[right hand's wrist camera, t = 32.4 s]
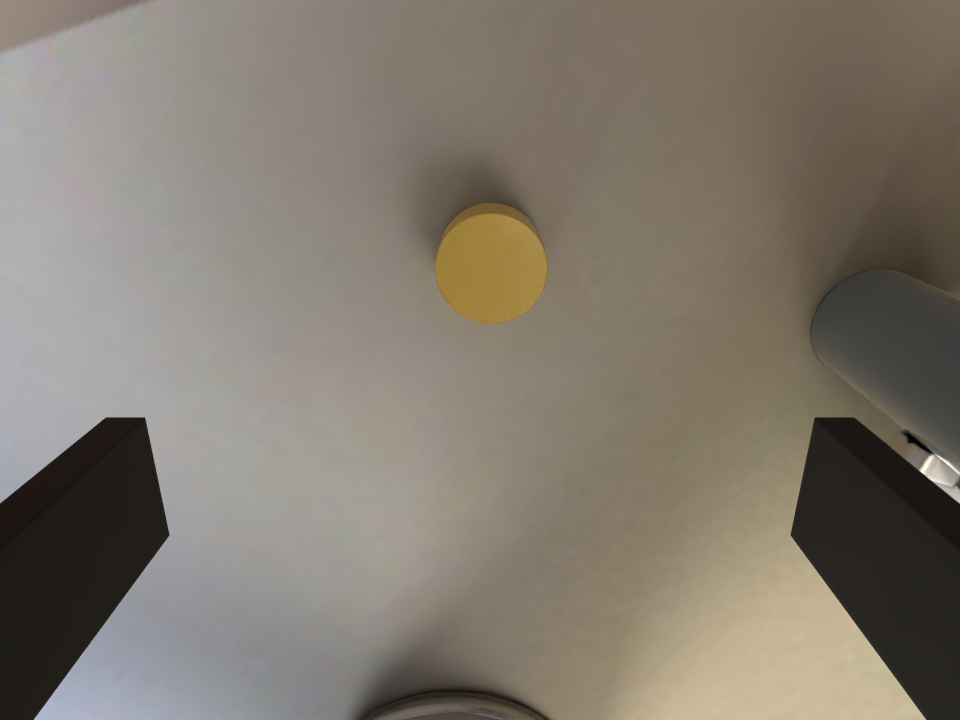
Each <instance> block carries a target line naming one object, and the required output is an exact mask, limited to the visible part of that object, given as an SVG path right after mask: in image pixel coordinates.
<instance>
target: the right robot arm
mask: <svg viewBox="0 0 960 720" xmlns="http://www.w3.org/2000/svg"><path fill="white" fill-rule="evenodd" d="M168 536H169V531H168V526H167V521H166V516H165V512H164V507H163V502H162V497H161V492H160V487H159V482H158V478H157V473H156V468H155V463H154V458H153V453H152V449H151V444H150V439H149V434H148V429H147V424H146V420H145V418H105V419H104V420H102V421H101V422H100V423H99V424H97V425H96V426H95V427H94V428H93V429H91V430H90V431H89V432H88V433H86V434H85V435H84V436H83V437H81V438H80V439H79V440H78V441H77V442H75V443H74V444H73V445H72V446H70V447H69V448H68V449H67V450H65V451H64V452H63V453H62V454H61V455H59V456H58V457H57V458H56V459H54V460H53V461H52V462H51V463H49V464H48V465H47V466H46V467H45V468H43V469H42V470H41V471H40V472H38V473H37V474H36V475H35V476H34V477H32V478H31V479H30V480H29V481H27V482H26V483H25V484H24V485H22V486H21V487H20V488H19V489H18V490H16V491H15V492H14V493H13V494H11V495H10V496H9V497H8V498H6V499H5V500H4V501H3V502H2V503H0V720H34V718H35V717H36V716H37V714H38V713H39V712H40V710H41V709H42V708H43V706H44V705H45V704H46V702H47V701H48V699H49V698H50V697H51V695H52V694H53V693H54V691H55V690H56V689H57V687H58V686H59V684H60V683H61V682H62V680H63V679H64V678H65V676H66V675H67V674H68V672H69V671H70V670H71V668H72V667H73V665H74V664H75V663H76V661H77V660H78V659H79V657H80V656H81V655H82V653H83V652H84V651H85V649H86V648H87V646H88V645H89V644H90V642H91V641H92V640H93V638H94V637H95V636H96V634H97V633H98V632H99V630H100V629H101V627H102V626H103V625H104V623H105V622H106V621H107V619H108V618H109V617H110V615H111V614H112V612H113V611H114V610H115V608H116V607H117V606H118V604H119V603H120V602H121V600H122V599H123V598H124V596H125V595H126V593H127V592H128V591H129V589H130V588H131V587H132V585H133V584H134V583H135V581H136V580H137V579H138V577H139V576H140V574H141V573H142V572H143V570H144V569H145V568H146V566H147V565H148V564H149V562H150V561H151V560H152V558H153V557H154V555H155V554H156V553H157V551H158V550H159V549H160V547H161V546H162V545H163V543H164V542H165V541H166V539H167V538H168ZM791 536H792V538H793V539H794V541H795V542H796V543H797V545H798V546H799V547H800V549H801V550H802V551H803V553H804V554H805V555H806V557H807V558H808V560H809V561H810V562H811V564H812V565H813V566H814V568H815V569H816V570H817V572H818V573H819V574H820V576H821V577H822V579H823V580H824V581H825V583H826V584H827V585H828V587H829V588H830V589H831V591H832V592H833V593H834V595H835V596H836V598H837V599H838V600H839V602H840V603H841V604H842V606H843V607H844V608H845V610H846V611H847V612H848V614H849V615H850V617H851V618H852V619H853V621H854V622H855V623H856V625H857V626H858V627H859V629H860V630H861V632H862V633H863V634H864V636H865V637H866V638H867V640H868V641H869V642H870V644H871V645H872V646H873V648H874V649H875V651H876V652H877V653H878V655H879V656H880V657H881V659H882V660H883V661H884V663H885V664H886V665H887V667H888V668H889V670H890V671H891V672H892V674H893V675H894V676H895V678H896V679H897V680H898V682H899V683H900V684H901V686H902V687H903V689H904V690H905V691H906V693H907V694H908V695H909V697H910V698H911V699H912V701H913V702H914V704H915V705H916V706H917V708H918V709H919V710H920V712H921V713H922V714H923V716H924V717H925V718H926V720H960V503H958V502H957V501H956V500H955V499H954V498H952V497H951V496H950V495H949V494H947V493H946V492H945V491H944V490H942V489H941V488H940V487H939V486H938V485H936V484H935V483H934V482H933V481H931V480H930V479H929V478H928V477H926V476H925V475H924V474H923V473H922V472H920V471H919V470H918V469H917V468H915V467H914V466H913V465H912V464H911V463H909V462H908V461H907V460H906V459H904V458H903V457H902V456H901V455H899V454H898V453H897V452H896V451H895V450H893V449H892V448H891V447H890V446H888V445H887V444H886V443H885V442H883V441H882V440H881V439H880V438H879V437H877V436H876V435H875V434H874V433H872V432H871V431H870V430H869V429H867V428H866V427H865V426H864V425H863V424H861V423H860V422H859V421H858V420H856V419H855V418H815V420H814V424H813V429H812V434H811V439H810V444H809V449H808V453H807V458H806V463H805V468H804V473H803V478H802V482H801V487H800V492H799V497H798V502H797V507H796V511H795V516H794V521H793V526H792V531H791ZM362 720H545V719H543V718H542V717H541V716H539V715H538V714H536V713H534V712H533V711H531V710H529V709H527V708H525V707H523V706H521V705H518V704H516V703H513V702H511V701H508V700H505V699H502V698H498V697H494V696H490V695H485V694H479V693H471V692H450V691H447V692H433V693H426V694H420V695H415V696H410V697H407V698H404V699H400V700H397V701H395V702H392V703H390V704H387V705H385V706H383V707H381V708H379V709H377V710H376V711H374V712H372V713H371V714H369V715H368V716H366V717H365V718H364V719H362Z"/></svg>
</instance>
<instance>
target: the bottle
mask: <svg viewBox="0 0 960 720" xmlns="http://www.w3.org/2000/svg"><path fill="white" fill-rule="evenodd" d="M811 339H812V345H813V348H814V351H815V353H816V355H817V357H818V358H819V359H820V361H821V362H822V363H823V364H824V365H825V366H826V367H828V368H829V369H830V370H831V371H833V372H834V373H835V374H836V375H837V376H839V377H840V378H841V379H842V380H844V381H845V382H846V383H847V384H849V385H850V386H851V387H852V388H853V389H855V390H856V391H857V392H858V393H860V394H861V395H862V396H863V397H865V398H866V399H867V400H868V401H869V402H871V403H872V404H873V405H874V406H876V407H877V408H878V409H879V410H880V411H882V412H883V413H884V414H885V415H887V416H888V417H889V418H890V419H892V420H893V421H894V422H895V423H896V424H898V425H899V426H900V427H901V428H903V429H904V430H905V431H906V432H908V433H909V434H910V435H911V436H912V437H914V438H915V439H916V440H917V441H919V442H920V443H921V444H922V445H923V446H925V447H926V448H927V449H928V450H930V451H931V452H932V453H933V454H935V455H936V456H937V457H938V458H939V459H941V460H942V461H943V462H944V463H946V464H947V465H948V466H949V467H951V468H952V469H953V470H954V471H955V472H957V473H958V474H959V475H960V297H957V296H955V295H953V294H951V293H948V292H946V291H944V290H941V289H939V288H937V287H935V286H932V285H930V284H928V283H925V282H923V281H921V280H918V279H916V278H914V277H912V276H909V275H907V274H905V273H902V272H899V271H896V270H890V269H876V270H869V271H865V272H862V273H859V274H856V275H854V276H852V277H850V278H848V279H846V280H845V281H843V282H841V283H840V284H839V285H837V286H836V287H835V288H834V289H833V290H832V291H831V292H830V293H829V294H828V295H827V296H826V297H825V298H824V300H823V301H822V303H821V304H820V306H819V308H818V309H817V311H816V314H815V316H814V319H813V323H812V330H811Z"/></svg>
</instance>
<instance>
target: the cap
mask: <svg viewBox="0 0 960 720" xmlns="http://www.w3.org/2000/svg"><path fill="white" fill-rule="evenodd" d="M435 277H436V281H437V285H438V288H439V290H440V292H441V294H442V296H443V298H444V299H445V300H446V302H447V303H448V304H449V305H450V306H451V307H452V308H453V309H454V310H455V311H457V312H458V313H459V314H461V315H463V316H464V317H466V318H469V319H471V320H474V321H477V322H483V323H499V322H504V321H508V320H511V319H513V318H515V317H518V316H519V315H521V314H523V313H524V312H526V311H527V310H528V309H529V308H530V307H531V306H532V305H533V304H534V303H535V302H536V300H537V299H538V297H539V296H540V294H541V292H542V290H543V288H544V285H545V282H546V277H547V259H546V254H545V251H544V248H543V245H542V242H541V239H540V236H539V234H538V232H537V230H536V228H535V226H534V225H533V223H532V222H531V221H530V220H529V219H528V217H526V216H525V215H524V214H523V213H522V212H520V211H519V210H517V209H515V208H513V207H511V206H508V205H505V204H500V203H482V204H477V205H474V206H471V207H469V208H467V209H465V210H463V211H462V212H461V213H459V214H458V215H457V216H456V217H455V218H454V219H453V220H452V221H451V222H450V223H449V225H448V226H447V228H446V230H445V232H444V234H443V236H442V239H441V242H440V245H439V248H438V252H437V255H436V260H435Z"/></svg>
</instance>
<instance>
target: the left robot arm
mask: <svg viewBox="0 0 960 720" xmlns="http://www.w3.org/2000/svg"><path fill="white" fill-rule="evenodd" d="M891 448H892V449H893V450H895V451H896V452H897V453H898V454H899V455H901V456H902V457H903V458H904V459H906V460H907V461H908V462H909V463H911V464H912V465H913V466H914V467H915V468H917V469H918V470H919V471H920V472H922V473H923V474H924V475H925V476H926V477H928V478H929V479H930V480H931V481H933V482H934V483H935V484H936V485H938V486H939V487H940V488H941V489H942V490H944V491H945V492H946V493H947V494H949V495H950V496H951V497H952V498H954V499H955V500H956V501H957V502H958V503H960V475H959V474H958V473H957V472H955V471H954V470H953V469H952V468H951V467H949V466H948V465H947V464H946V463H944V462H943V461H942V460H941V459H939V458H938V457H937V456H936V455H935V454H933V453H932V452H931V451H930V450H928V449H927V448H926V447H925V446H923V445H922V444H921V443H920V442H919V441H917V440H916V439H915V438H914V437H912V436H911V435H910V434H909V433H908V432H906V431H901V432H900V434H899V435H898V437H897V438H896V440H895V441H894V442H893V444H892V445H891Z"/></svg>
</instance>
